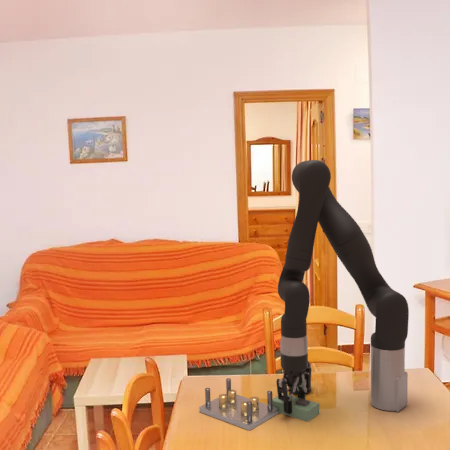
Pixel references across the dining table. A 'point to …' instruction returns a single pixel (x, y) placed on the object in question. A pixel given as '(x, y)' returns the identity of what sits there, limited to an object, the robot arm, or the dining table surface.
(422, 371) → the dining table surface
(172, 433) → the dining table surface
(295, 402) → the board
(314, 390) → the dining table surface
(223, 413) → the chassis
